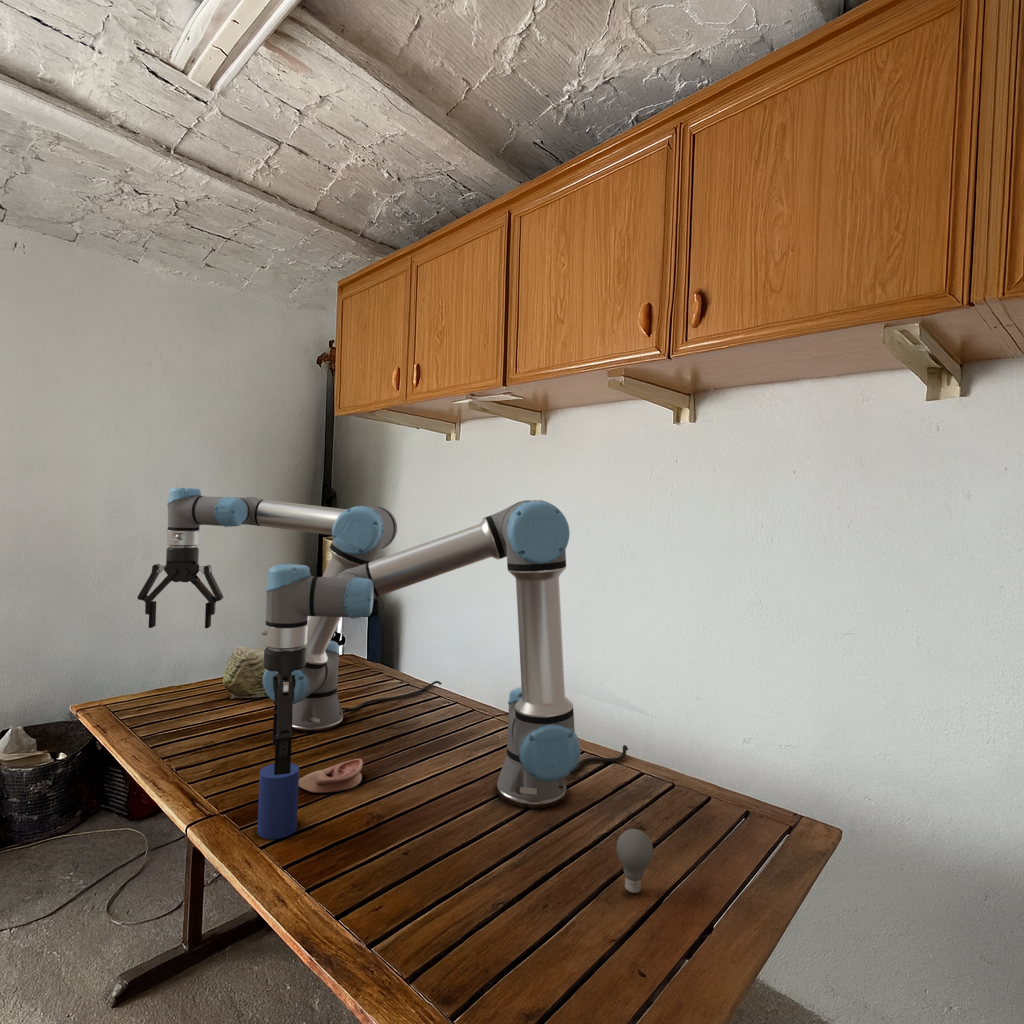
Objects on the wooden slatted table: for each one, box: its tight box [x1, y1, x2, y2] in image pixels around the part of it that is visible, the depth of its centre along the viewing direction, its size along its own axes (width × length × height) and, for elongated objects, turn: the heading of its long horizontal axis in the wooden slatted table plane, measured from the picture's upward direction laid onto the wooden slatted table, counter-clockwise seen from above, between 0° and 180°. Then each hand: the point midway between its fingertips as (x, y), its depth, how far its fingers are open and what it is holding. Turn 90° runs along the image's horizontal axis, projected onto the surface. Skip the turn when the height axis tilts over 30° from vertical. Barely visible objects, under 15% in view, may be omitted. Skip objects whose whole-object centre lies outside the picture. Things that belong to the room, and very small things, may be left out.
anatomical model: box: [298, 758, 364, 794], centre depth 140 cm, size 13×4×12 cm
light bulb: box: [615, 828, 654, 894], centre depth 106 cm, size 6×6×10 cm
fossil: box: [222, 646, 269, 699], centre depth 198 cm, size 9×18×15 cm, turn 132°
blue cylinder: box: [257, 762, 300, 840], centre depth 120 cm, size 7×7×11 cm
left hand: (180, 627), depth 167 cm, fingers open, 13 cm apart
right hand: (280, 758), depth 120 cm, fingers open, 13 cm apart
